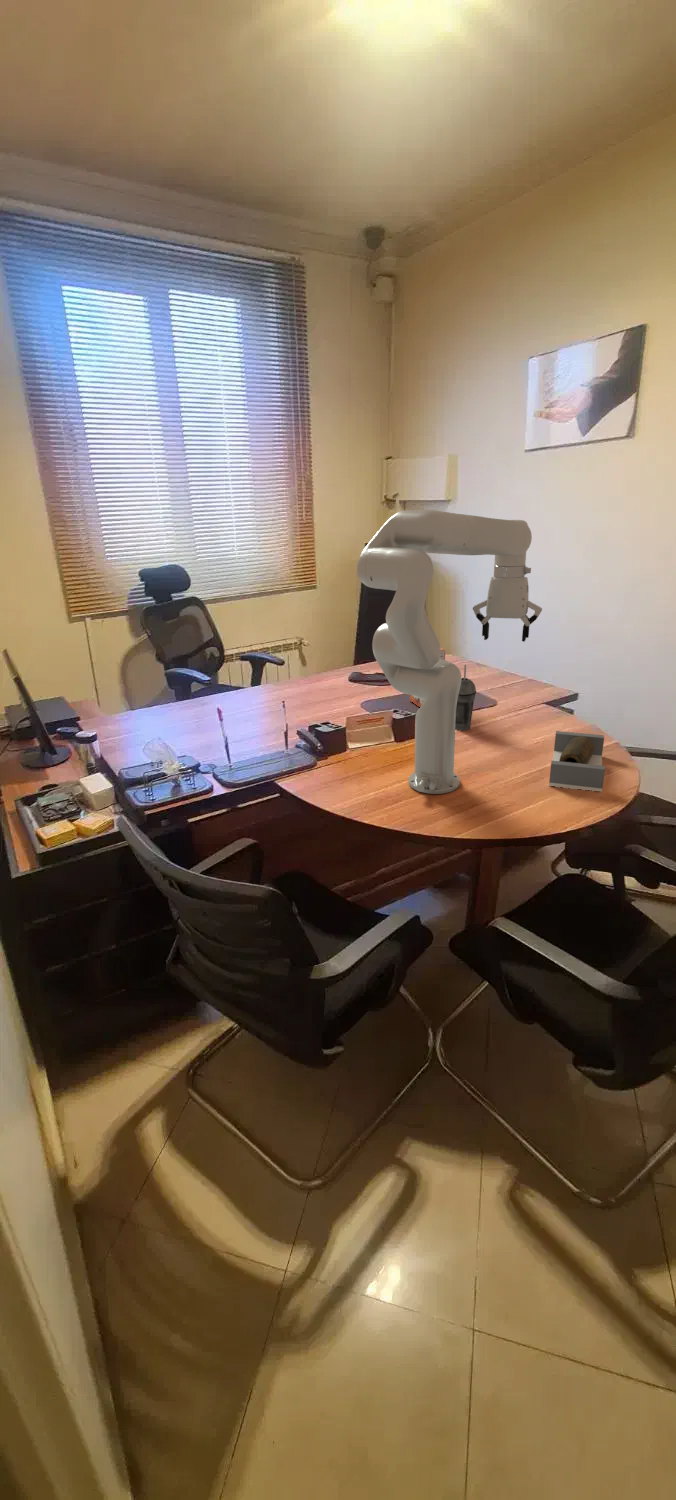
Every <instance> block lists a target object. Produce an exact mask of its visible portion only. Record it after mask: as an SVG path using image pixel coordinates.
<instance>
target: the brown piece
mask: <svg viewBox="0 0 676 1500" xmlns="http://www.w3.org/2000/svg"><path fill="white" fill-rule="evenodd" d="M593 752H594V745H593V744H592V742H591V741H590V740H589V739H588V738H586V737H582V736H578V737H575V738H573V739H572V740H571V741H570V742H569V743H568V745H567V746H566V748H565V749H564V751H563V752H562V754H561V756H560V760H559V761H561V762H571V763H580V764H588V762H589V760H590V758H591V756H592V755H593Z"/></svg>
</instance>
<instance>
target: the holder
mask: <svg viewBox="0 0 676 1500" xmlns="http://www.w3.org/2000/svg"><path fill="white" fill-rule="evenodd" d="M578 736H582V737H586V738H588V739H589V740H590V741H591V742H592V744H593V745H594V752H593V755H592V756H591V758H590V760H589V762H588V764H580V763H571V762H561V761H559V760H560V756H561V754H562V752H563V751H564V749H565V748H566V746H567V745H568V743H569V742H570V741H571V740H572V739H573V738H575V737H578ZM554 738H555V739H554V747H553V748H554V750H553V754H552V760H551V761H550V773H549V782H548V786H549V787H551V786H555V787H554V788H560V787H563V788H562V789H568V788H570V790H577V789H582V790H581V791H585V790H590V791H589V792H594V791H601V792H600V793H603V787H604V780H605V773H606V766H605V765H603V750H604V745H605V744H604V743H605V735H604V734H594V733H586V732H585V733H584V732H583V733H582V732H573V731H560V730H556V731H555V736H554ZM591 790H592V791H591Z"/></svg>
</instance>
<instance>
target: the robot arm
mask: <svg viewBox="0 0 676 1500" xmlns="http://www.w3.org/2000/svg"><path fill="white" fill-rule="evenodd" d="M531 543H532V531H531V528H530V526H529V525H528V523H527V521H525V520H522V519H502V518H494V517H493V518H492V517H487V516H485V517H484V516H480V515H479V516H478V515H471V514H462V513H455V512H450V511H449V512H448V511H441V510H436V509H435V510H432V509H431V510H430V509H427V510H426V509H425V510H419V509H418V510H413V509H412V510H409V509H407V510H405V509H404V510H400V511H398V512H396V513H395V514H393V515H392V516H391V517H390V518H388V519H387V520H386V522H384V524H383V525H382V526H381V527H380V529H378V531H377V532H376V533H375V535H374V536H373V537H372V539H370V541H369V542H368V543H367V545H366V546H365V547H364V548H363V550H362V551H361V553H360V555H359V558H358V560H357V564H356V572H357V574H356V575H357V577H358V579H359V581H360V582H361V583H362V584H363V585H364V586H366V587H368V588H370V589H371V588H372V589H376V590H379V589H380V590H388V591H395V593H394V595H393V599H392V601H391V603H390V605H389V606H388V608H387V610H386V613H385V622H384V623H382V624H381V625H380V626H378V628H377V629H376V630H375V632H374V634H373V638H372V642H371V643H372V644H371V647H372V652H373V656H374V658H375V660H376V662H377V664H378V665H379V667H380V669H381V670H382V673H383V674H384V676H385V678H386V679H387V681H388V682H389V685H391V687H393V689H394V690H396V691H397V692H399V693H402V694H406V695H409V696H410V695H414V696H418V697H421V698H423V699H424V702H423V704H422V705H421V707H420V708H419V707H418V710H417V711H416V714H415V716H414V717H415V721H414V747H415V748H414V772H412V773H411V774H410V775H409V776H408V785H409V786H410V788H411V789H413V790H416V791H417V792H420V793H424V794H429V795H430V794H431V795H440V794H441V795H442V794H448V793H450V792H453V791H455V790H457V788H459V786H460V783H461V780H460V777H459V776H458V775H457V774H456V773H455V746H456V745H455V743H456V742H455V740H456V729H455V718H456V705H457V699H458V694H459V690H460V686H461V679H462V678H463V677H462V672H461V671H460V669H459V667H458V666H457V665H456V664H455V663H453V662H451V661H448V660H446V659H445V660H442V659H440V656H441V648H442V647H441V646H440V641H439V638H438V637H437V635H436V632H435V631H434V629H433V626H432V623H431V622H430V620H429V618H428V615H427V613H426V607H425V605H426V600H427V596H428V592H429V590H430V585H431V583H432V580H433V575H434V574H433V572H434V565H433V561H432V559H431V557H430V555H429V554H437V555H438V554H439V555H440V554H441V555H456V556H484V555H485V556H487V555H488V556H492V555H493V556H494V564H493V565H494V566H493V576H492V577H490V581H489V587H488V590H487V591H488V592H487V599H485V600H484V601H482V602H479V603H477V604H475V605H474V606H473V607H472V610H473V613H474V615H475V617H476V618H477V620H478V621H479V622H480V623H481V625H482V629H481V630H482V631H481V636H482V637H483V640H484V641H486V640H488V639H489V636H490V633H489V632H490V622H489V621H490V620H491V619H520V620H521V621H522V623H523V626H522V636H521V641H522V642H524V643H525V642H526V640H527V639H528V638H529V634H530V626H531V624H533V623H534V622H535V621H537V620H538V617H539V616H540V615H541V613H542V611H543V607H541V606H539V605H538V604H536V603H534V602H532V601H531V600H529V594H530V593H529V581H528V580H529V579H528V577H527V576H526V575H527V574H532V573H531V572H532V567H527V566H526V563H527V562H526V561H527V551H528V549H529V548H530V547H531ZM484 607H486V610H485V613H486V615H485V616H484V615H483V613H481V609H482V608H484ZM529 609H531V610H533V611H534V613H533V615H531V616H530V617H529V616H528V615H527V614H528V610H529Z"/></svg>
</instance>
